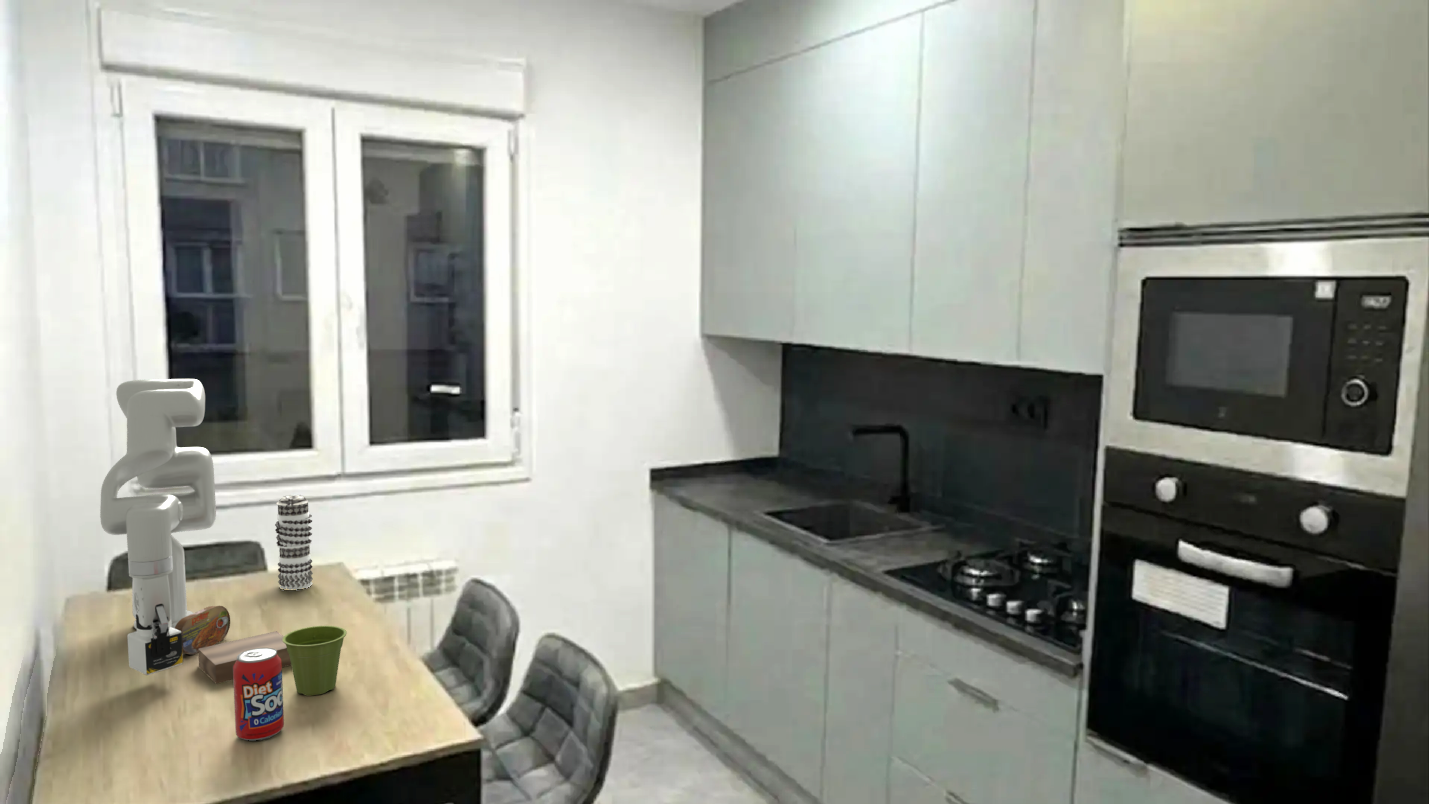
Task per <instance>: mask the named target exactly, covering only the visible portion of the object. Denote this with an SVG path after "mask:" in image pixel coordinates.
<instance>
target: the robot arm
mask: <svg viewBox="0 0 1429 804" xmlns="http://www.w3.org/2000/svg"><path fill="white" fill-rule="evenodd" d="M115 395H116V399H117V402H118V403H117V404H118V405H119V408H120V409H121V411H122V413H123V414H124V416H125V418H126V429H127V430H126V453H125V455H123V457H122V458H120V459H119V460H118V461H117V462H116V463H115V464H114V465H113V466H112V467H111V468H110V469H109V471H108V472H107V474H106V475H105V477H104V479H103V481H102V485H101V488H100V489H101V490H100V505H99V506H100V509H99V511H100V513H99V517H100V525H101V528H102V529H103V531H105V532H106V533H107V534H109V535H112V536H120V535H121V536H122V535H123V536H124V535H126V543H127V544H126V545H127V546H126V547H127V559H128V560H127V562H128V576H129V578H132V584H131V585H132V592H131V593H132V594H131V596H132V597H131V598H132V600H131V601H132V602H131V603H132V616H133V618H134V619H135V620H134V621H133V628H134V629H136V630H137V628H136V614H137V615H138V617H139V623H140V624H141V625H142V626H143V627H147V626H148V625H150V626H151V631H152V637H153V638H151V652H152V657H153V658H157V657H161V656H165V655H169V654H170V653H171V650H170V634H169V627H168V622H169V621H170V620H171V625H172V626H171V627H172V628H175V626H176V624H177V623H178V622H179V621H180V620H181V619H182V618H184V617H186V616H189V615H191V614H193V613H194V612H193V611H191V610H188V605H187V603H188V602H187V584H186V583H187V582H186V562H185V561H186V560H185V549H184V547H183V545H182V544H181V542H180V541H179V540H177V539H176V537H174V536H173V535H172V534H174V533H180V532H181V533H182V532H191V531H193V532H194V531H202V530H208V529H210V528H211V527H213V526H214V524H215V522H216V518H217V507H216V506H217V504H216V501H217V500H216V486H215V474H214V473H215V468H214V460H213V457H212V454H211V453H210V451H209V450H208V449H207V448H205V447H201V446H185V447H184V446H183V447H179V446H178V445H177V429H176V428H183V427H185V428H186V427H197V426H199V425H201V423H202V422H203V420H204V417H205V412H206V393H205V388H204V386H203V384H202V382H201V381H200V380H198V379H195V378H171V379H170V378H169V379H168V378H164V379H163V378H157V379H156V378H155V379H154V378H153V379H134V380H128V381H124V382H122V383H120V384H119V385H118V386H117V388H116V393H115ZM134 478H136V479H137V482H138V484H139V486H141V487H142V488H145V489H151V490H153V489H155V490H156V489H157V490H158V489H174V488H191V489H192V490H191V491H177V492H175V491H174V492H162V493H161V492H160V493H153V494H147V495H139V496H138V495H137V496H126V497H118V493H119V490H121V488H122V487H123V486H124V485H126V484H127V482H129V481H130V480H132V479H134ZM155 611H156V612H155ZM167 617H168V618H167ZM157 619H158V621H159V622H154V623H153V620H157ZM156 626H159V627H158V628H157V630H156V629H155V627H156Z"/></svg>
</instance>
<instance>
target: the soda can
mask: <svg viewBox="0 0 1429 804" xmlns="http://www.w3.org/2000/svg"><path fill="white" fill-rule="evenodd" d="M232 681H233V703H234V722H235V723H234V724H235V725H234V726H235V735H236V736H237V737H238V738H239V739H241V740H244V741H248V740H249V742H257V741H256V740H260V741H264V740H267V738H268V739H269V737H270V738H272V737H274V736H275V735H277V734H278V733H280V732H281V731H282V730H283V729H284V726H285V717H284V716H285V714H284V712H285V711H284V691H283V689H284V688H283V667H282V660H281V658H280V657H279V656H278V655H277V650H275V649H273V648H256V649H251V650H247V651H244V652H242V653H240V654H239V655H238V656H237V661H236V662H235V664H234V665H233V680H232Z"/></svg>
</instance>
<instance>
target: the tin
mask: <svg viewBox="0 0 1429 804" xmlns="http://www.w3.org/2000/svg"><path fill="white" fill-rule="evenodd" d="M230 627H231V615H230V613H229V611H228V609H227V608H226V606H225V607H224V606H223V605H212V606H211V605H209V606H206V607H204V608H202V609H200V610H198V611H195V612H193V614H191V615H189V616H186V617H184V618H182V619H181V620H180V621H179V622H178V623H177V624H176V626H175V629H177V630H180V631H181V634H182V654H183V655H192V656H193V655H198V649H199V648H204V647H208V646H213V645H217V644H220V643H221V642H222V641H223V640H224V639H225V638H226V637H227V635H228V633H229V632H230V631H229V630H230Z"/></svg>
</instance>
